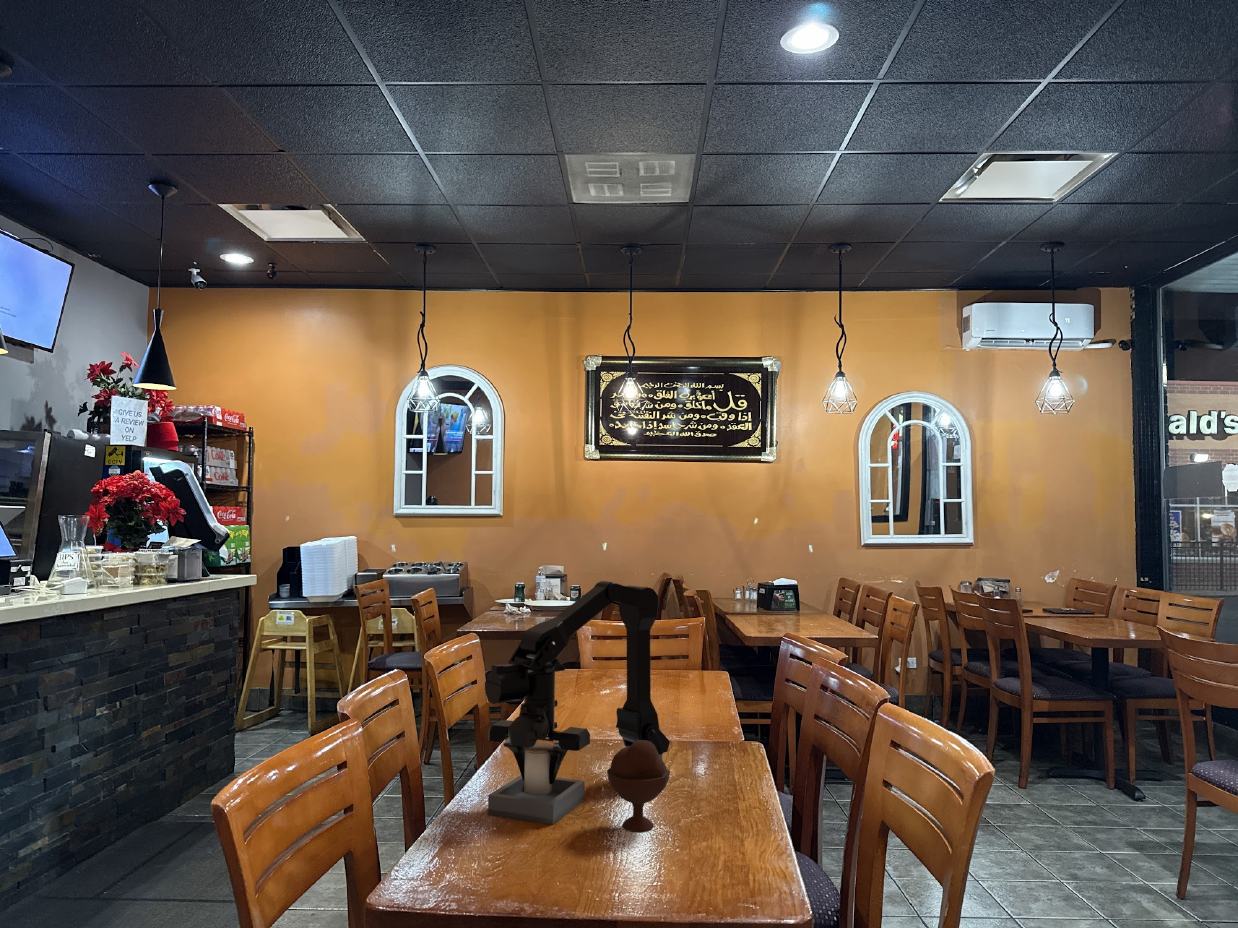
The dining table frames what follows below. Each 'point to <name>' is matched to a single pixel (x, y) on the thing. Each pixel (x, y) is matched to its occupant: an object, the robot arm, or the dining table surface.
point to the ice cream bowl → (638, 780)
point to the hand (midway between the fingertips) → (538, 781)
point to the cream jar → (537, 770)
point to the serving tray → (536, 801)
